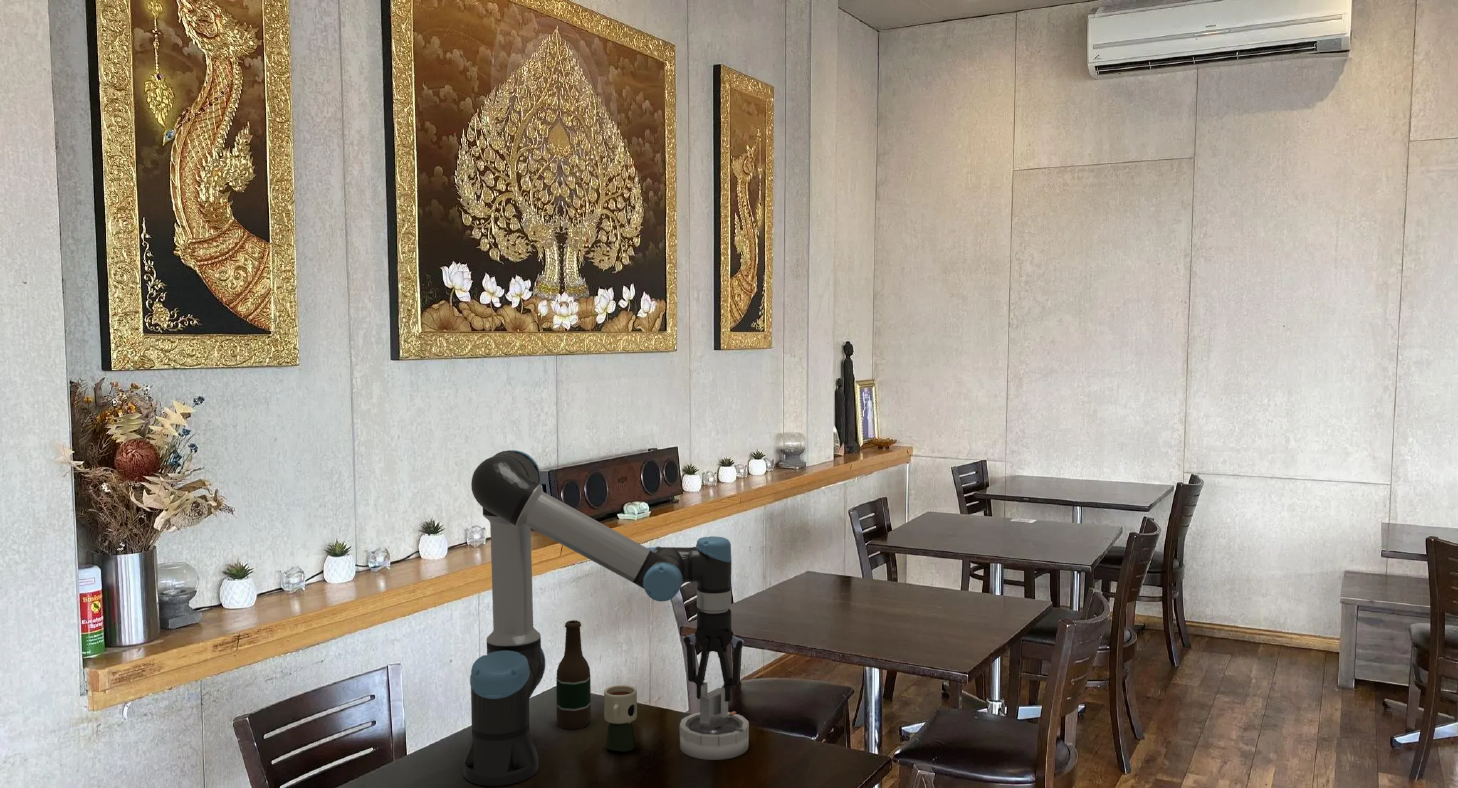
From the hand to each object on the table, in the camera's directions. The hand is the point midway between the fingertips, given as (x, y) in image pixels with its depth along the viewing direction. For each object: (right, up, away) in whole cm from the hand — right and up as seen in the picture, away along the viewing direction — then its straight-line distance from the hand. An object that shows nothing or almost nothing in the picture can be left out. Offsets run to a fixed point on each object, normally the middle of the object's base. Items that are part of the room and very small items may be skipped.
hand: (714, 714), depth 226 cm
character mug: (-20, -7, -1) cm, 22 cm away
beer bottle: (-33, -7, +13) cm, 36 cm away
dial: (0, -4, 0) cm, 4 cm away
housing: (0, -7, 0) cm, 7 cm away
